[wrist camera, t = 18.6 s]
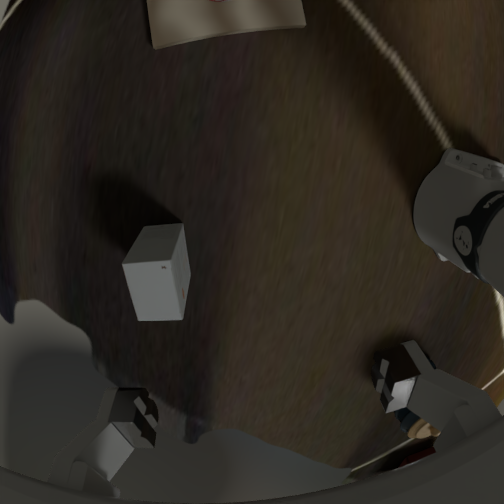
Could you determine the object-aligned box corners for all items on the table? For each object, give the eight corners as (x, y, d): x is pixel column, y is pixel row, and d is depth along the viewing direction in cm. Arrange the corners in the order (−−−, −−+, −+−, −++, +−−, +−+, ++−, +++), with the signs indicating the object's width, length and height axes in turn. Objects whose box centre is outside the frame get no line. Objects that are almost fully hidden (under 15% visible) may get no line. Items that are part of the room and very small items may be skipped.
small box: (143, 225, 39) (120, 261, 30) (184, 221, 40) (170, 258, 30) (154, 276, 43) (136, 322, 34) (191, 274, 43) (182, 321, 34)
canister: (371, 383, 58) (399, 449, 42) (418, 345, 54) (457, 408, 39) (397, 398, 62) (422, 455, 47) (438, 365, 59) (471, 420, 43)
